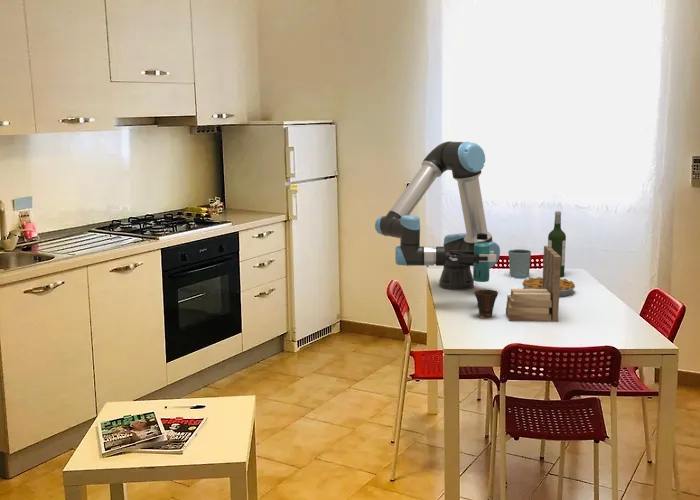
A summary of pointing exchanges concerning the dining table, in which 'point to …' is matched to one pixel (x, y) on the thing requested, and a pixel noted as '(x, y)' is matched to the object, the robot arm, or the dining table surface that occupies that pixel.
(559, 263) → the offcut rack
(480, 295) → the cup
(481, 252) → the beverage bottle
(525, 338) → the dining table surface
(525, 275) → the grey plastic cylinder
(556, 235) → the wine bottle
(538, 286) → the pie
